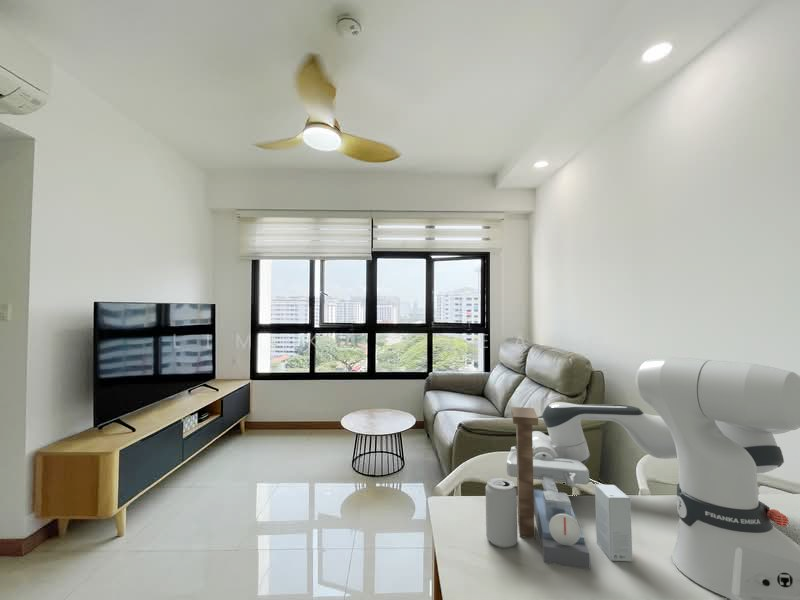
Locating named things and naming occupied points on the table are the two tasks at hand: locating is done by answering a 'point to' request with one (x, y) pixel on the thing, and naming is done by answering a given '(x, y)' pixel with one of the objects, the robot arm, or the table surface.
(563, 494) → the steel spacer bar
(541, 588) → the table surface
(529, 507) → the walnut post stand
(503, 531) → the beverage can
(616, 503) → the skincare box
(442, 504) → the table surface
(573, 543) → the platform scale
